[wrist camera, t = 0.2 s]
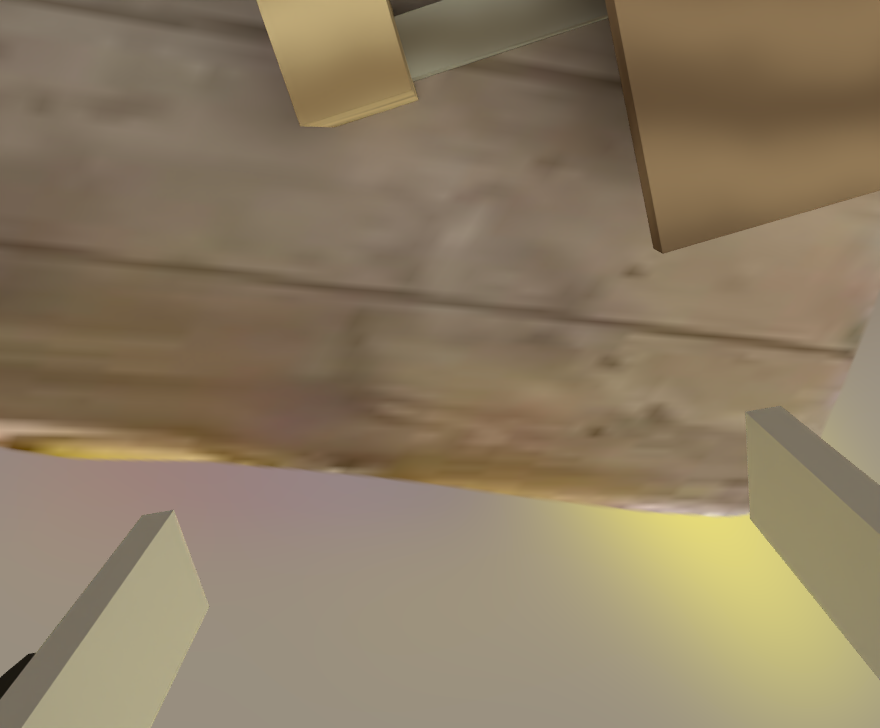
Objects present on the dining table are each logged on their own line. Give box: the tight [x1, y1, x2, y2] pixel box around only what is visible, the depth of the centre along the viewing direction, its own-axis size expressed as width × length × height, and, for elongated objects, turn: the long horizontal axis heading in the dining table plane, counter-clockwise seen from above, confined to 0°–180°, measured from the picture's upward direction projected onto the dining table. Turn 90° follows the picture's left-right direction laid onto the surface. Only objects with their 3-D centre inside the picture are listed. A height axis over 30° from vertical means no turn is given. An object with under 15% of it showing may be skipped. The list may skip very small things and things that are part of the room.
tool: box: [256, 0, 608, 127], centre depth 32 cm, size 5×22×10 cm, turn 107°
